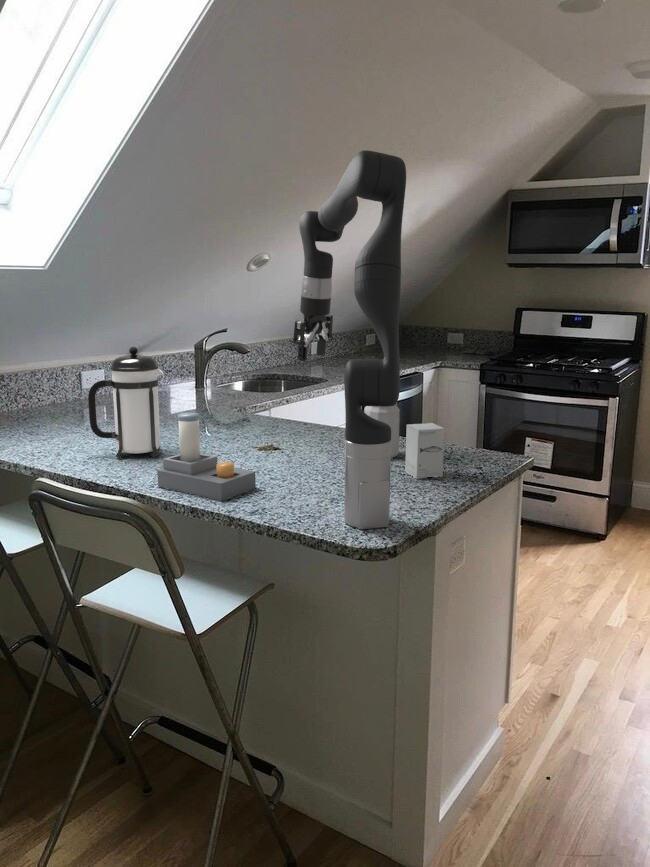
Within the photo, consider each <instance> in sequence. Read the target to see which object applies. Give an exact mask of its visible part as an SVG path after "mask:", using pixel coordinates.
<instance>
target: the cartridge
mask: <svg viewBox="0 0 650 867" xmlns="http://www.w3.org/2000/svg"><path fill="white" fill-rule="evenodd" d="M177 421H178V441H179V442H178V443H179V454H180V461H183V462H189V463H192V462H195V461H199V460H201V459H200V453H201V439H200V436H201V435H200V413H198V412H181V413H178V414H177Z"/></svg>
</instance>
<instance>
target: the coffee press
mask: <svg viewBox="0 0 650 867" xmlns="http://www.w3.org/2000/svg"><path fill="white" fill-rule="evenodd" d="M128 351H129V354H130V355H123V356H119V357H116V358H115V359H113V360H112V362H111V365H110V366H109V370H110V372H111V380H105V379H102V380H98V381H96V382H94V383H93V385H92V386H91V387H90V389H89V391H88V400H87V401H88V414H89V415H88V416H89V424H90V429H91V431H92V432H93V433H94V435H95V436H97V437H98V438H103V439H113V440H114V439H115V444H116V445H115V446H116V449H117V453H116V456H115V458H116V459H118V460H123V459H125V458H124V457H126V455H128V454H144V453H145V454H146V453H149V454H150V456H151V457H152V458H153V459H157V458H159V456H160V453H159V451H160V449H161V426H160V425H161V424H160V423H161V422H160V404H159V403H160V402H159V387H158V386H159V385H160V384H159V378H158V377H160V376H165V374H164V372H163V371H162V370H161V369H160V368H159V364H158V363H157V361H156V360H155V359H154V358H153V357H151V356H148V355H137V354H138V352H139V350H138V348H137V347H136V346H131V347H129V350H128ZM105 387H111V388H112V397H113V398H112V399H113V400H112V401H113V414H114V415H113V416H114V428H115V431H103V430H102V429H100V428H99V426H98V420H97V419H98V418H97V406H96V405H97V404H96V393H97V391H98V390H99V389H100V388H105Z"/></svg>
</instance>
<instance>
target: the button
mask: <svg viewBox="0 0 650 867" xmlns="http://www.w3.org/2000/svg"><path fill="white" fill-rule="evenodd" d="M216 468H217V477H219V478H224V479H228V478H231V477H234V468H235V463H233V462H230V461H224V462H217V464H216Z"/></svg>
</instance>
